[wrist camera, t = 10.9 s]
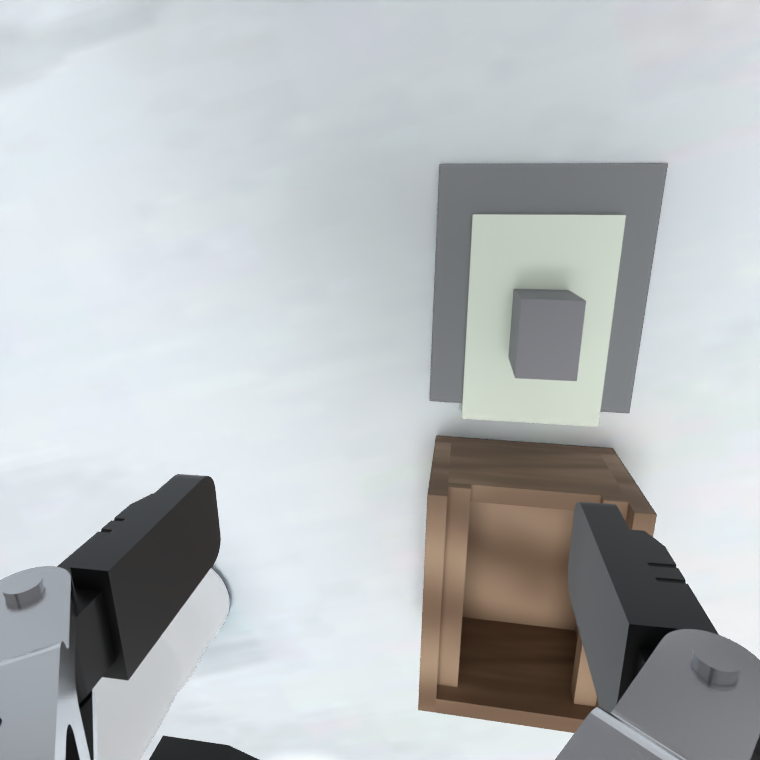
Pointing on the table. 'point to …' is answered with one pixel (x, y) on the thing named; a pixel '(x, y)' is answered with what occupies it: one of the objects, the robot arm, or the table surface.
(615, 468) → the box
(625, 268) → the mat
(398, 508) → the table surface
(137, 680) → the water bottle
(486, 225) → the lid
